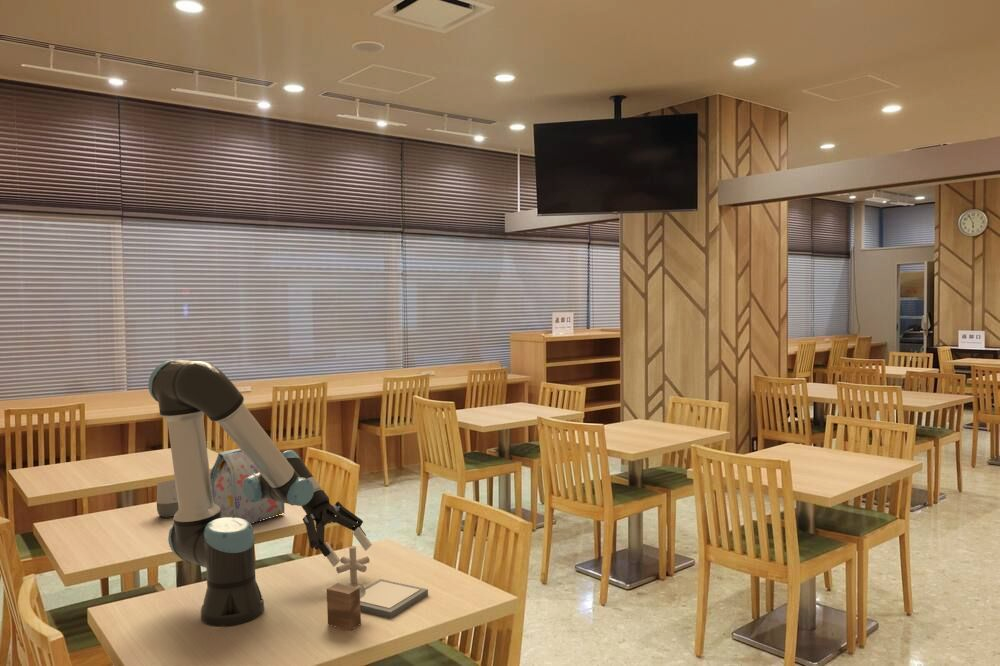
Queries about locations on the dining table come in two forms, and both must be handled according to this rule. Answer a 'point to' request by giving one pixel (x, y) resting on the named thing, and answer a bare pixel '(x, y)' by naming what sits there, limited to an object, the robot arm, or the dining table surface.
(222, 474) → the lunch bag
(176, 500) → the smart speaker
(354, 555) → the pipe connector
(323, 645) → the dining table surface
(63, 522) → the dining table surface
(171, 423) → the robot arm
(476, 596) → the dining table surface
